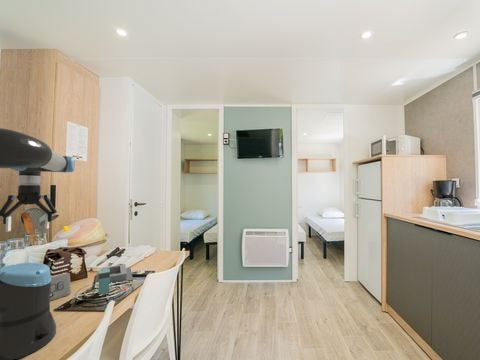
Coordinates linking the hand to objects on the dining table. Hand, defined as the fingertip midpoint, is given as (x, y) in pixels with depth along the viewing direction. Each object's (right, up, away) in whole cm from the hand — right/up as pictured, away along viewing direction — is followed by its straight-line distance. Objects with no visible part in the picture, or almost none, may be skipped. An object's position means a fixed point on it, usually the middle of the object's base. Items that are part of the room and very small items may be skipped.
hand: (28, 229), depth 101 cm
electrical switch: (+20, -27, -9) cm, 35 cm away
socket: (+35, -27, +10) cm, 45 cm away
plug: (+40, -27, -6) cm, 48 cm away
